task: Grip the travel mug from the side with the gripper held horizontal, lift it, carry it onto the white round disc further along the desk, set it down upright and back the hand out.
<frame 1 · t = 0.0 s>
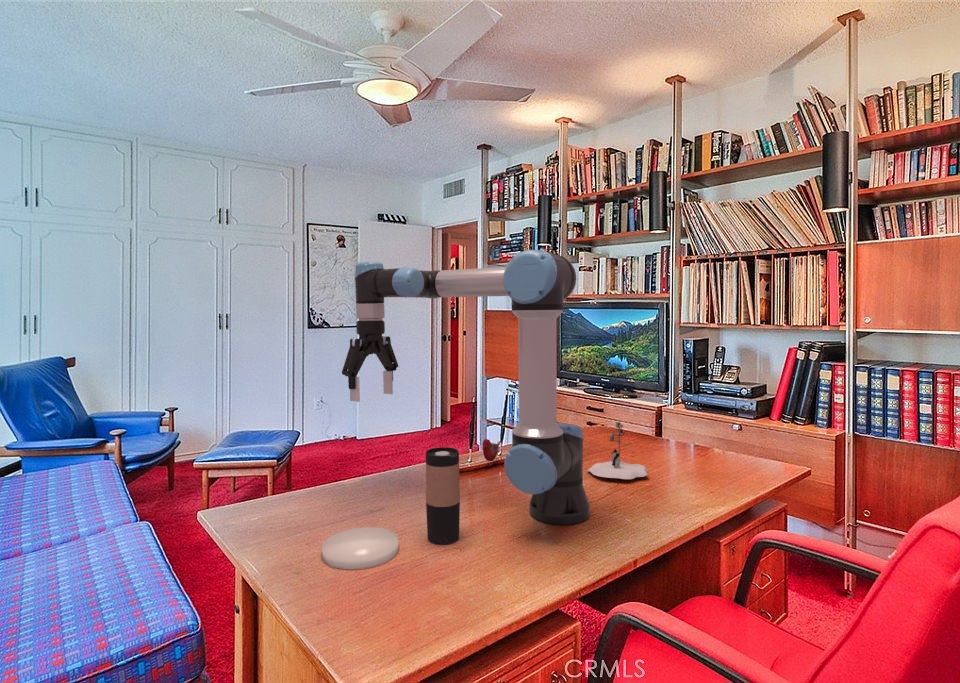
hand: (372, 397, 145), 28 cm above the table, fingers open, 13 cm apart
travel mug: (443, 538, 120), on the table
figurine: (619, 475, 166), on the table
white round disc: (361, 551, 114), on the table
decorative bird figurine: (492, 464, 177), on the table
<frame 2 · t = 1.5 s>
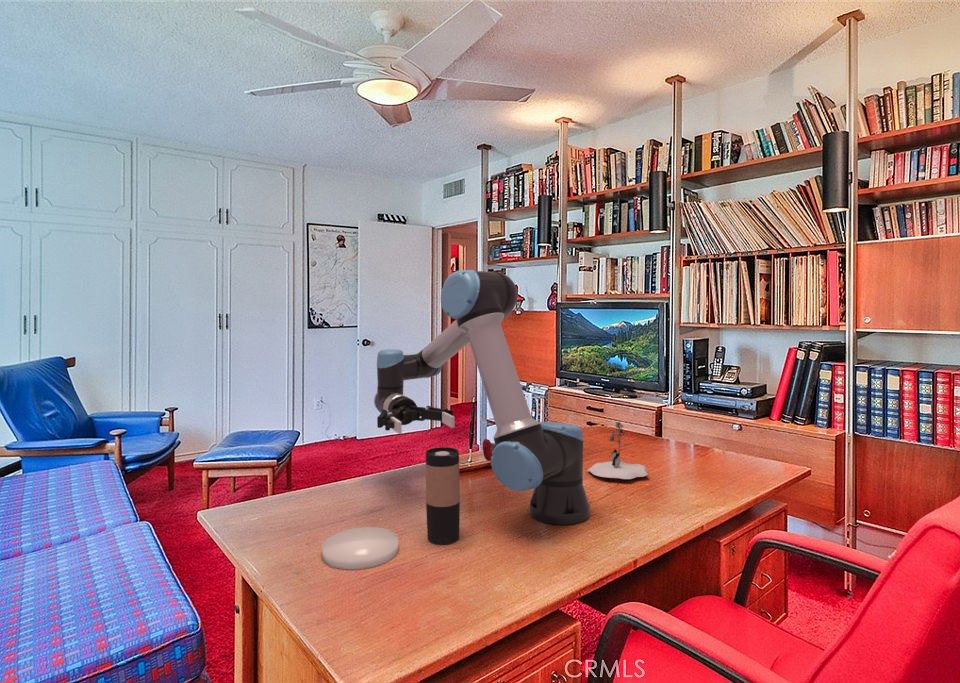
hand: (427, 425, 127), 24 cm above the table, fingers open, 13 cm apart
nothing on the table moved.
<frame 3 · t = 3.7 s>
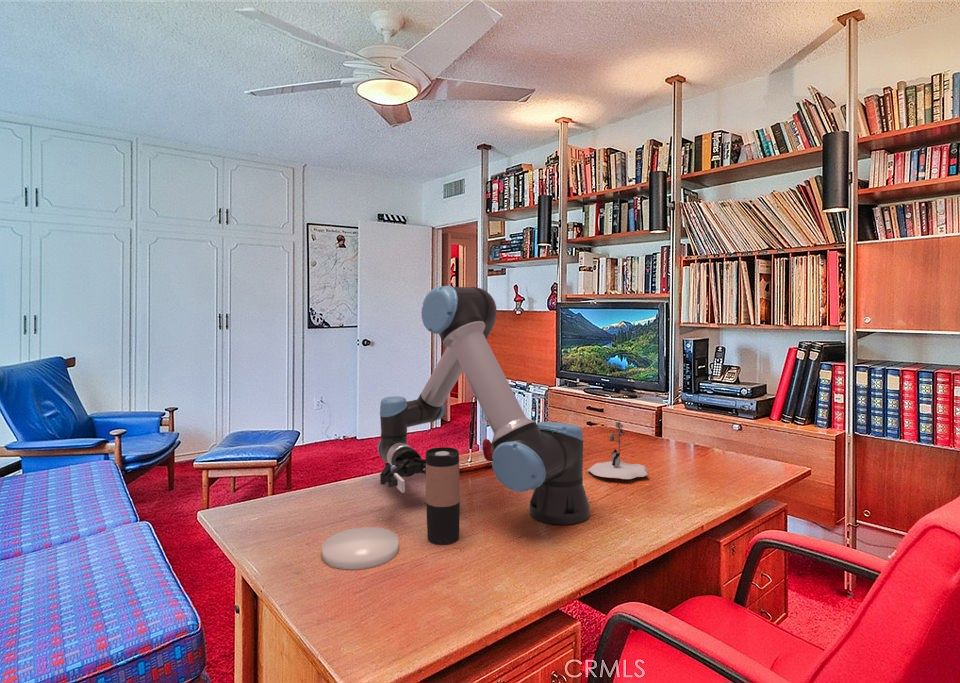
hand: (431, 482, 126), 11 cm above the table, fingers open, 13 cm apart
nothing on the table moved.
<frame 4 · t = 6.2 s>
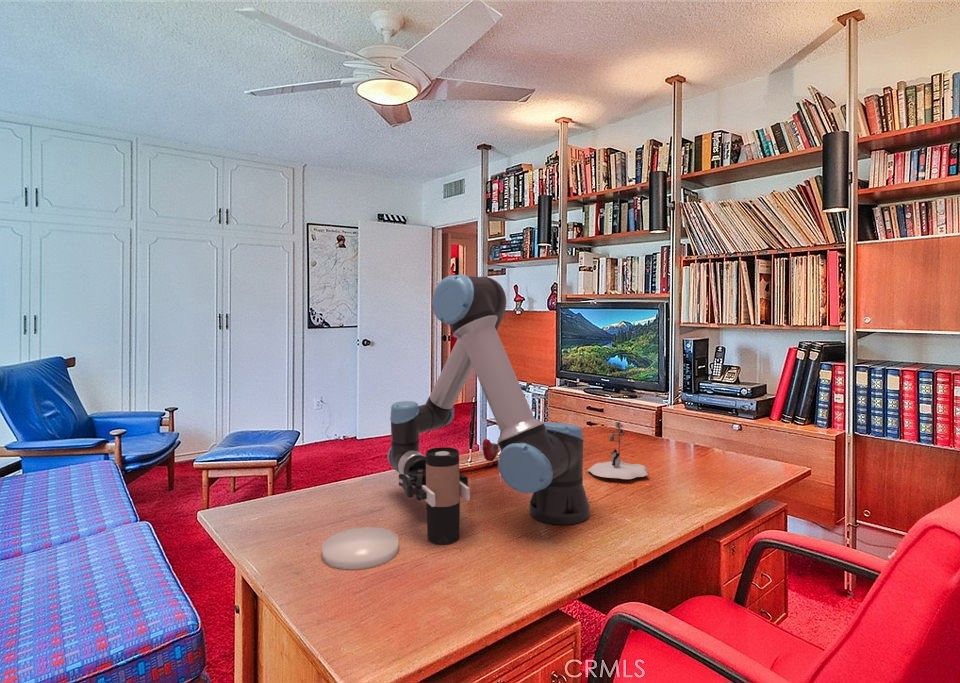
hand: (451, 497, 115), 11 cm above the table, fingers closed on travel mug, 7 cm apart
travel mug: (443, 538, 120), on the table, touching gripper
everything else where it was.
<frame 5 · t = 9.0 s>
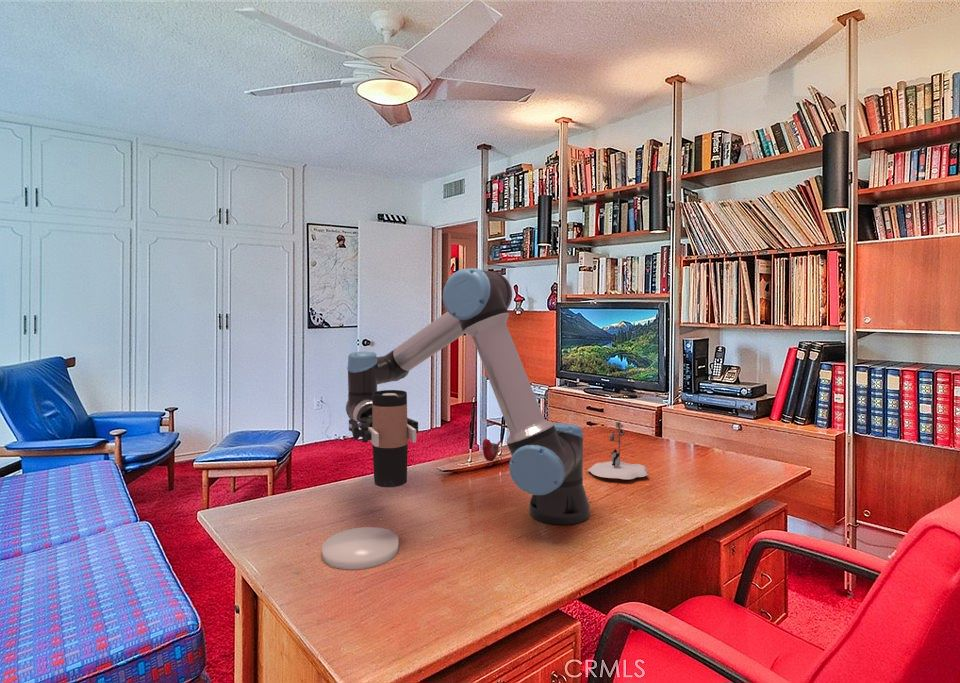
hand: (396, 438, 112), 25 cm above the table, fingers closed on travel mug, 7 cm apart
travel mug: (390, 483, 117), point 14 cm above the table, touching gripper
everything else where it was.
when the fingers open (14 cm above the table, at t = 12.3 s): travel mug drops 1 cm, resting on white round disc.
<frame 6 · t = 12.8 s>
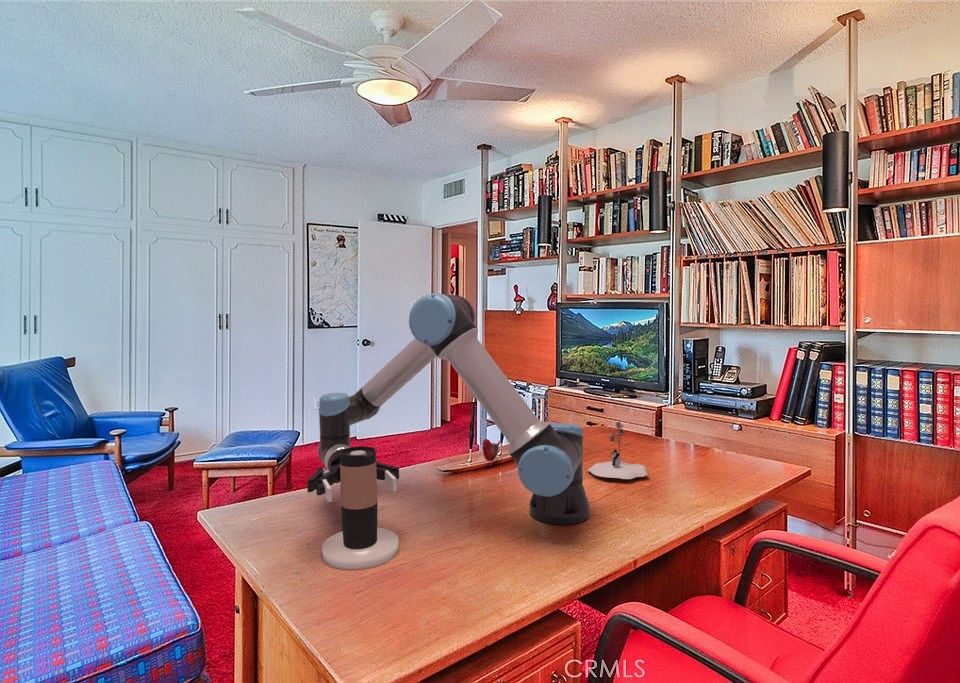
hand: (363, 490, 110), 14 cm above the table, fingers open, 13 cm apart
travel mug: (360, 542, 114), point 2 cm above the table, touching white round disc
everything else where it was.
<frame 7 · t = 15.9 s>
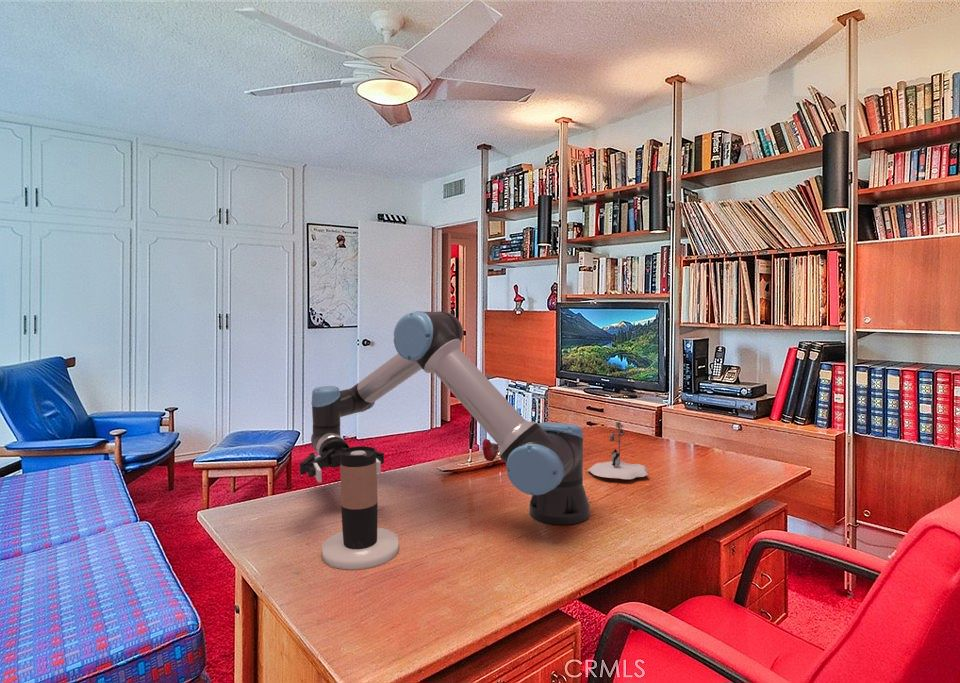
hand: (350, 472, 122), 15 cm above the table, fingers open, 13 cm apart
nothing on the table moved.
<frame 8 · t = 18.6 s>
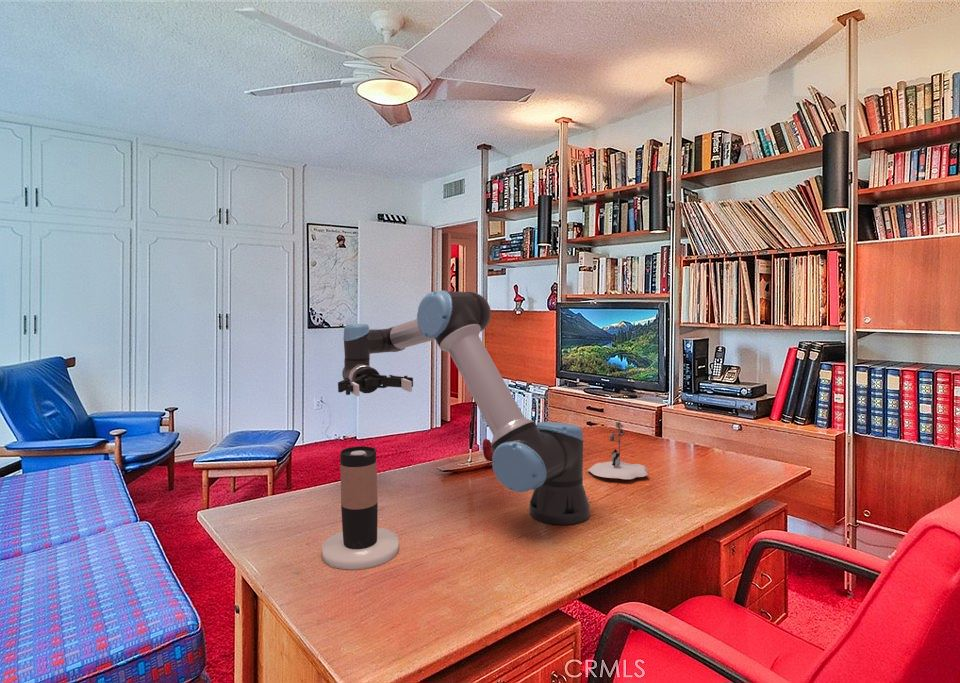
hand: (384, 388, 134), 32 cm above the table, fingers open, 13 cm apart
nothing on the table moved.
at the end: travel mug 0.2 cm from the white round disc (horizontally); travel mug point 1.8 cm above the table; travel mug tilted 0° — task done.
